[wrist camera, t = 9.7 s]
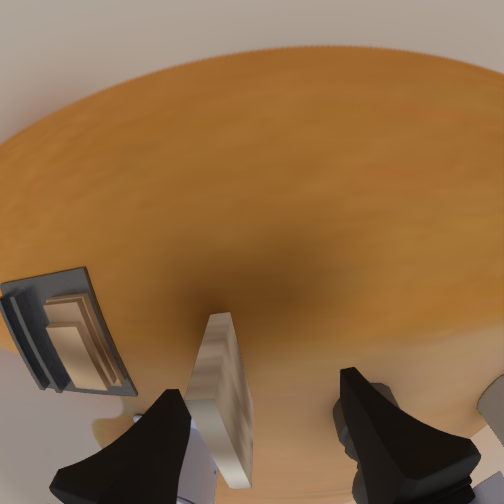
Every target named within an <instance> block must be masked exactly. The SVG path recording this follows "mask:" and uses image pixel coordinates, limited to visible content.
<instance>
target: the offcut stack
mask: <svg viewBox="0 0 504 504" xmlns="http://www.w3.org/2000/svg"><path fill="white" fill-rule="evenodd" d="M43 307H44V309H45V312H46V314H47V316H48V319H49V321H50V325H48V326H47V327H46V330H47V332H48V334H49V337H50V339H51V341H52V343H53V345H54V347H55V349H56V351H57V353H58V355H59V357H60V359H61V361H62V363H63V365H64V367H65V369H66V371H67V372H68V374H69V376H70V378H71V380H72V381H73V383H74V385H75V386H76V388H83V389H94V390H107V391H108V389H109V387H110V386H123V384H124V382H125V380H124V378H123V376H122V374H121V372H120V370H119V367H118V365H117V363H116V361H115V359H114V357H113V355H112V353H111V350H110V348H109V346H108V344H107V341H106V339H105V337H104V334H103V332H102V330H101V327H100V325H99V322H98V320H97V317H96V315H95V312H94V309H93V307H92V304H91V301H90V299H89V296H88V293H80V294H73V295H65V296H57V297H50V298H49V299H48V300H46V304H45V305H43Z"/></svg>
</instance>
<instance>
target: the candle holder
mask: <svg viewBox="0 0 504 504" xmlns="http://www.w3.org/2000/svg"><path fill="white" fill-rule="evenodd" d="M370 384H371V385H372V386H373V387H374V388H375V389H376V390H378V391H379V392H380V393H381V394H382V395H383V396H384V397H385V398H387V399H388V400H389V401H390V402H392V403H393V404H394V405H395V406H397V407H398V408H399V406H398V404H397V402H396V400H395V398H394V396H393V394H392V392H391V390H390V388H389V387H388V386H386V385H384V384H382V383H370ZM333 418H334V422H335V426H336V430H337V434H338V438H339V441H340V442H341V444H342V445H343V446H344V447H345V453H346V454H347V455H348V456H349V457H350V458H351V459H354V460H355V461H356V462H358V464H357V469H358V471H357V472H356V475H355V478H354V481H353V487H352V494H353V498H354V500H355V501H356V503H357V504H368V498H367V492H366V487H365V482H364V478H363V473H362V469H361V464H360V461H359V458H358V455H357V452H356V449H355V447H354V444H353V441H352V439H351V436H350V433H349V431H348V428H347V425H346V422H345V420H344V416H343V412H342V407H341V403H340V399H339V400H338V401H337V403H336V405H335V407H334V408H333Z"/></svg>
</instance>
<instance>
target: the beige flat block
mask: <svg viewBox="0 0 504 504" xmlns="http://www.w3.org/2000/svg"><path fill="white" fill-rule="evenodd" d="M184 401H185V403H186V406H187V408H188V410H189V412H190V414H191V416H192V418H193V420H194V423H195V425H196V427H197V429H198V431H199V433H200V435H201V437H202V439H203V440H204V442H205V444H206V446H207V448H208V450H209V452H210V454H211V456H212V457H213V459H214V461H215V463H216V465H217V467H218V468H219V470H220V472H221V474H222V475H223V477H224V479H225V480H226V482H227V484H228V485H229V487H230V489H242V488H252V456H253V416H254V405H253V401H252V397H251V394H250V390H249V386H248V382H247V378H246V374H245V370H244V367H243V363H242V359H241V355H240V351H239V347H238V342H237V338H236V334H235V330H234V326H233V322H232V318H231V313H230V312H227V313H219V314H211V315H210V317H209V320H208V323H207V327H206V330H205V333H204V336H203V339H202V343H201V346H200V349H199V352H198V356H197V359H196V362H195V365H194V369H193V372H192V375H191V379H190V382H189V385H188V388H187V392H186V395H185V399H184Z"/></svg>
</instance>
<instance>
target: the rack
mask: <svg viewBox="0 0 504 504" xmlns="http://www.w3.org/2000/svg"><path fill="white" fill-rule="evenodd" d="M0 288H1V291H2V294H3V295H2V296H1V297H0V311H1V314H2V316H3V319H4V321H5V323H6V325H7V328H8V330H9V332H10V334H11V337H12V339H13V341H14V343H15V345H16V347H17V349H18V351H19V353H20V355H21V357H22V359H23V360H24V362H25V364H26V366H27V368H28V370H29V371H30V373H31V375H32V376H33V378H34V380H35V382H36V383H37V385H38V387H39V388H40V389H41V390H45V389H46V388H53V389H55V391H56V392H57V393H62V392H63V390H66V391H74V392H83V393H92V394H103V395H117V396H137V395H138V393H137V391H136V389H135V387H134V385H133V383H132V381H131V379H130V377H129V375H128V373H127V371H126V369H125V367H124V364H123V362H122V360H121V358H120V356H119V354H118V351H117V349H116V347H115V345H114V342H113V340H112V338H111V335H110V333H109V330H108V328H107V325H106V323H105V320H104V318H103V315H102V313H101V310H100V307H99V305H98V302H97V299H96V296H95V293H94V291H93V288H92V285H91V282H90V279H89V276H88V272H87V269H86V267H82V268H77V269H72V270H67V271H61V272H56V273H51V274H46V275H41V276H36V277H31V278H26V279H21V280H16V281H12V282H7V283H2V284H0ZM80 293H88V296H89V299H90V301H91V304H92V307H93V309H94V312H95V315H96V317H97V320H98V322H99V325H100V327H101V330H102V332H103V334H104V337H105V339H106V341H107V344H108V346H109V348H110V350H111V353H112V355H113V357H114V359H115V361H116V363H117V365H118V367H119V370H120V372H121V374H122V376H123V378H124V380H125V382H124V384H123V386H110V387H109V389H108V391H107V390H94V389H83V388H76V386H75V385H74V383H73V381H72V380H71V378H70V376H69V374H68V372H67V371H66V369H65V367H64V365H63V363H62V361H61V359H60V357H59V355H58V353H57V351H56V349H55V347H54V345H53V343H52V341H51V339H50V337H49V334H48V332H47V330H46V327H47V326H48V325H50V321H49V319H48V316H47V314H46V312H45V309H44V307H43V305H45V304H46V300H48V299H49V298H50V297H57V296H65V295H73V294H80Z"/></svg>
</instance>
